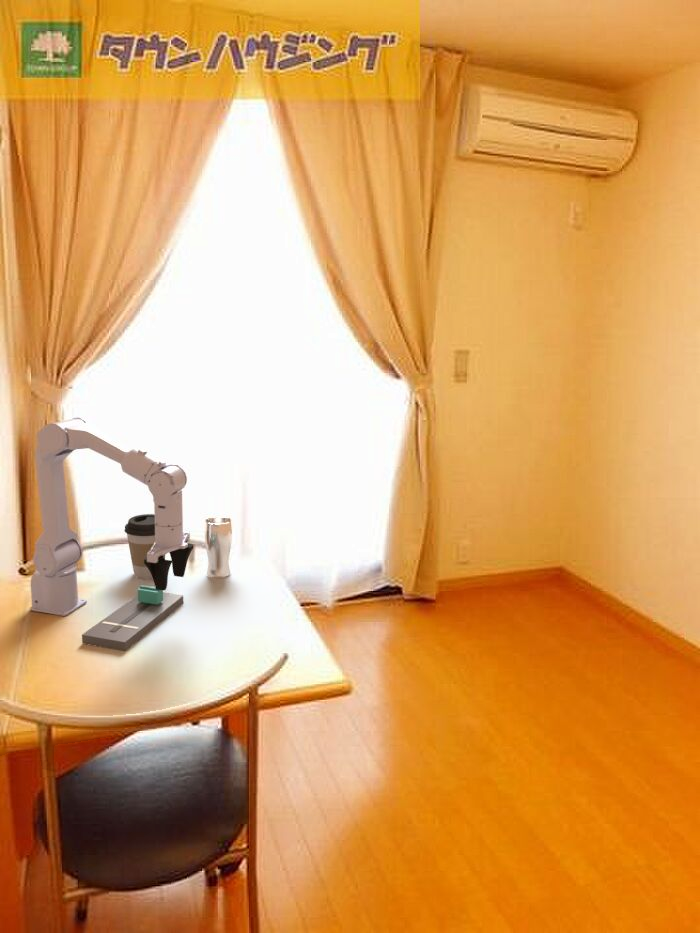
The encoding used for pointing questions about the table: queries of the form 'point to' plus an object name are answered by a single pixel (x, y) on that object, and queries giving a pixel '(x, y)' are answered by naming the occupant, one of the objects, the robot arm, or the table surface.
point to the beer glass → (218, 545)
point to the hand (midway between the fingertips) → (170, 582)
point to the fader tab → (150, 595)
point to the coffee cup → (141, 542)
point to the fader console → (131, 622)
